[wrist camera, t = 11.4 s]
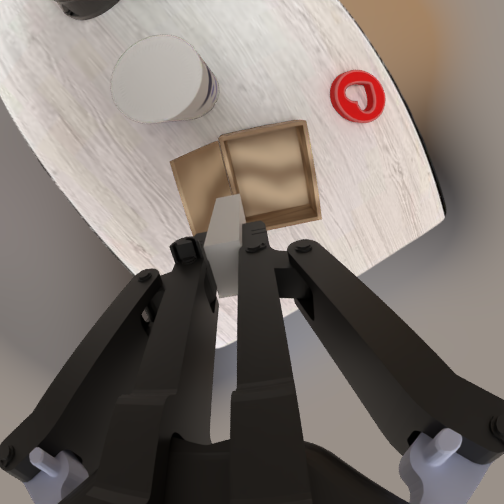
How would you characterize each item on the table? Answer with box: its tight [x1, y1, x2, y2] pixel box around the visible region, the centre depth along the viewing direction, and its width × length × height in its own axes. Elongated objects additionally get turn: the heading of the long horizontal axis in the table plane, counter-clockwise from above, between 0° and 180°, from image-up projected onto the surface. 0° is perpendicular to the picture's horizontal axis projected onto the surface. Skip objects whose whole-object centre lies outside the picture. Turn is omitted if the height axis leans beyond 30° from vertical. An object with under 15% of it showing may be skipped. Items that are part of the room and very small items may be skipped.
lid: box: [170, 141, 232, 237], centre depth 35 cm, size 15×12×1 cm
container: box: [111, 35, 219, 124], centre depth 31 cm, size 10×10×20 cm
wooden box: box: [218, 120, 322, 231], centre depth 44 cm, size 16×13×7 cm
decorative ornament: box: [330, 70, 385, 123], centre depth 39 cm, size 10×10×3 cm
